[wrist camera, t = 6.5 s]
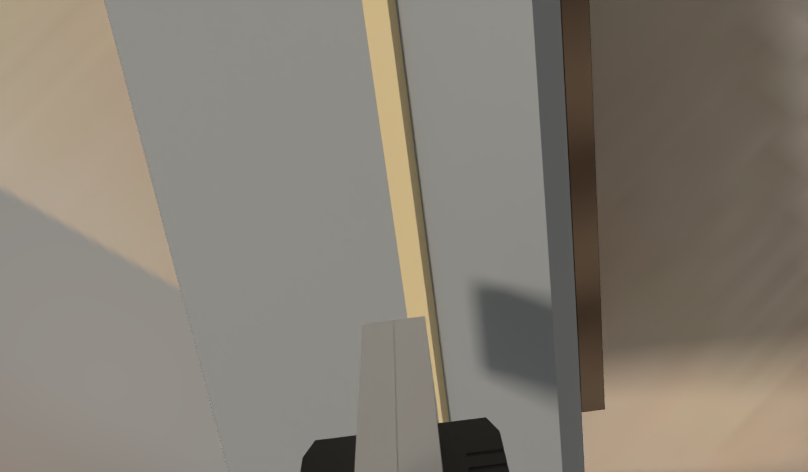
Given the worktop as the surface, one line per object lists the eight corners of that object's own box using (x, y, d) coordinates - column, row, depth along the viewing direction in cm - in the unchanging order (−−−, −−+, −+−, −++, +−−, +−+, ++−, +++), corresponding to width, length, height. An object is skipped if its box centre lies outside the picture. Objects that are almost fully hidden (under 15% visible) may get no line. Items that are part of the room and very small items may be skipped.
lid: (114, -86, 26) (73, -83, 25) (550, -189, 15) (511, -191, 14) (251, 465, 34) (225, 485, 33) (593, 638, 24) (570, 674, 23)
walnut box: (172, -68, 33) (120, -70, 26) (543, -120, 32) (583, -135, 26) (271, 371, 41) (249, 453, 34) (568, 333, 40) (604, 409, 34)
